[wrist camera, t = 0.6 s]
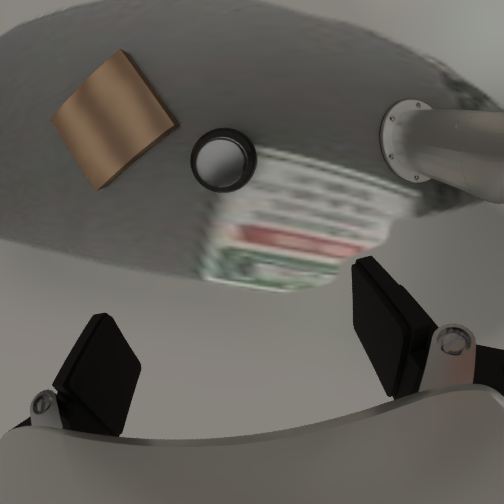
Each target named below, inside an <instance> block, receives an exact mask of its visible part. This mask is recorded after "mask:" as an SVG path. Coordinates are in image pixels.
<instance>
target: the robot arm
mask: <svg viewBox="0 0 504 504" xmlns="http://www.w3.org/2000/svg"><path fill="white" fill-rule="evenodd" d="M380 143H381V148H382V153H383V155H384V158H385V160H386V162H387V163H388V165H389V167H390V168H391V169H392V170H393V171H394V173H396V174H397V175H398V176H399V177H401V178H403V179H405V180H408V181H410V182H415V183H419V182H425V181H428V180H430V179H435V180H437V181H440V182H443V183H445V184H448V185H450V186H453V187H455V188H458V189H460V190H463V191H465V192H467V193H470V194H472V195H474V196H476V197H479V198H481V199H483V200H486V201H488V202H491V203H497V204H501V203H504V113H503V112H490V111H473V110H444V109H433V108H432V107H430V106H429V105H427V104H426V103H424V102H421V101H418V100H404V101H400V102H398V103H396V104H394V105H393V106H392V107H391V108H390V109H389V110H388V111H387V113H386V114H385V116H384V119H383V121H382V125H381V130H380ZM389 155H390V157H389ZM352 292H353V325H354V329H355V331H356V333H357V335H358V337H359V339H360V341H361V343H362V345H363V347H364V349H365V351H366V353H367V355H368V357H369V359H370V361H371V363H372V365H373V367H374V369H375V371H376V373H377V375H378V377H379V380H380V382H381V384H382V386H383V388H384V390H385V392H386V394H387V396H389V397H391V396H393V398H394V400H393V401H391V402H387V403H384V404H381V405H378V406H375V407H372V408H369V409H366V410H363V411H360V412H356V413H353V414H349V415H345V416H342V417H338V418H334V419H330V420H326V421H322V422H318V423H314V424H309V425H305V426H300V427H295V428H290V429H285V430H279V431H273V432H267V433H260V434H254V435H244V436H236V437H224V438H210V439H189V440H188V439H187V440H186V439H185V440H165V439H139V438H125V437H119V435H120V434H121V433H122V431H123V429H124V425H125V421H126V418H127V414H128V411H129V407H130V404H131V401H132V397H133V394H134V391H135V388H136V384H137V381H138V378H139V375H140V372H141V364H140V362H139V360H138V359H137V357H136V355H135V354H134V352H133V351H132V349H131V348H130V346H129V344H128V343H127V341H126V340H125V338H124V336H123V335H122V333H121V331H120V329H119V328H118V326H117V324H116V323H115V321H114V319H113V318H112V317H111V316H109V315H108V314H107V313H101V314H95V315H93V316H92V318H91V319H90V321H89V322H88V324H87V325H86V327H85V329H84V330H83V332H82V333H81V335H80V337H79V338H78V340H77V342H76V343H75V345H74V347H73V348H72V350H71V352H70V353H69V355H68V357H67V358H66V360H65V362H64V364H63V366H62V368H61V369H60V371H59V373H58V375H57V376H56V378H55V380H54V382H53V384H52V386H53V387H55V389H56V390H57V391H58V393H57V395H56V394H55V393H54V392H53V391H52V390H44V391H42V392H40V393H39V394H37V396H35V398H34V399H33V401H32V403H31V406H30V415H31V417H29V418H28V419H26V420H25V421H23V422H22V423H20V424H19V425H17V426H16V427H14V428H13V429H11V430H9V431H8V432H7V433H5V434H4V435H3V437H2V438H1V440H0V504H504V350H502V349H496V348H491V347H486V346H481V345H476V339H475V336H474V335H473V333H472V332H471V331H470V330H469V329H468V328H466V327H465V326H463V325H460V324H446V325H442V326H441V327H438V326H437V325H436V324H435V323H434V321H433V320H432V319H431V318H430V317H429V315H428V314H427V313H426V312H425V311H424V310H423V308H422V307H421V306H420V305H419V304H418V303H417V302H416V300H415V299H414V298H413V297H412V296H411V295H410V294H409V292H407V290H406V289H405V288H404V287H403V286H402V285H399V284H398V283H397V282H396V281H395V280H394V279H393V278H392V277H391V276H390V275H389V274H388V273H387V271H386V270H385V269H384V268H383V267H382V266H381V265H380V264H379V263H378V262H377V261H376V260H375V259H374V258H373V257H372V256H368V257H364V258H360V259H357V260H356V262H355V264H353V265H352Z"/></svg>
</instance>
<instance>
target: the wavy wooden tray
mask: <svg viewBox="0 0 504 504" xmlns="http://www.w3.org/2000/svg"><path fill="white" fill-rule="evenodd" d="M51 120H52V122H53V123H54V125H55V127H56V129H57V130H58V132H59V134H60V135H61V137H62V139H63V141H64V142H65V144H66V145H67V147H68V149H69V150H70V152H71V154H72V155H73V157H74V158H75V160H76V161H77V163H78V165H79V166H80V168H81V169H82V171H83V172H84V174H85V175H86V177H87V178H88V180H89V181H90V183H91V184H92V186H93V187H94V189H95V190H96V191H98V190H100V189H102V188H104V187H106V186H107V185H108V184H109V183H110V182H112V181H113V180H114V179H115V178H116V177H117V176H118V175H119V174H120V173H121V172H123V171H124V170H125V169H126V168H127V167H128V166H129V165H131V164H132V163H133V162H134V161H135V160H136V159H138V158H139V157H140V156H141V155H142V154H144V153H145V152H146V151H147V150H149V149H150V148H151V147H152V146H154V145H155V144H156V143H157V142H159V141H160V140H161V139H162V138H164V137H165V136H166V135H168V134H169V133H170V132H172V131H173V130H174V129H176V128H177V127H179V126H180V125H179V123H178V122H177V120H176V119H175V118H174V116H173V115H172V113H171V112H170V110H169V109H168V108H167V106H166V105H165V103H164V102H163V101H162V99H161V98H160V96H159V95H158V94H157V92H156V91H155V89H154V88H153V87H152V85H151V84H150V82H149V81H148V80H147V78H146V77H145V75H144V74H143V73H142V71H141V70H140V68H139V67H138V66H137V64H136V63H135V61H134V60H133V59H132V57H131V56H130V55H129V54H128V53H127V52H125V51H123V50H121V49H120V50H119V51H117V52H116V53H115V54H114V55H113V56H111V57H110V58H109V59H108V60H107V61H106V62H105V63H103V64H102V65H101V66H100V67H99V68H98V69H97V70H96V71H95V72H94V73H93V74H92V75H91V76H90V77H89V78H88V79H87V80H85V81H84V83H83V84H82V85H81V86H80V87H79V88H78V89H77V90H76V91H75V92H74V93H73V94H72V95H71V96H70V97H69V98H68V99H67V101H66V102H65V103H64V104H63V105H62V106H61V107H60V108H59V110H58V111H57V112H56V113H55V114H54V116H53V117H52V118H51Z"/></svg>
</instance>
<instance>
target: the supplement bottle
mask: <svg viewBox="0 0 504 504" xmlns="http://www.w3.org/2000/svg"><path fill="white" fill-rule="evenodd" d="M190 163H191V169H192V172H193V174H194V176H195V178H196V179H197V181H198V182H199V183H200V184H201V185H202V186H204V187H205V188H207V189H209V190H211V191H214V192H218V193H229V192H233V191H236V190H238V189H240V188H242V187H243V186H245V185H246V184H247V183H248V182H249V181H250V179H251V178H252V176H253V175H254V172H255V170H256V166H257V154H256V150H255V147H254V145H253V143H252V142H251V141H250V139H249V138H248V137H247V136H246V135H244V134H243V133H241V132H239V131H237V130H235V129H231V128H218V129H214V130H211V131H209V132H207V133H205V134H204V135H203V136H202V137H200V138H199V140H198V141H197V142H196V144H195V145H194V147H193V149H192V153H191V159H190Z"/></svg>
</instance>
